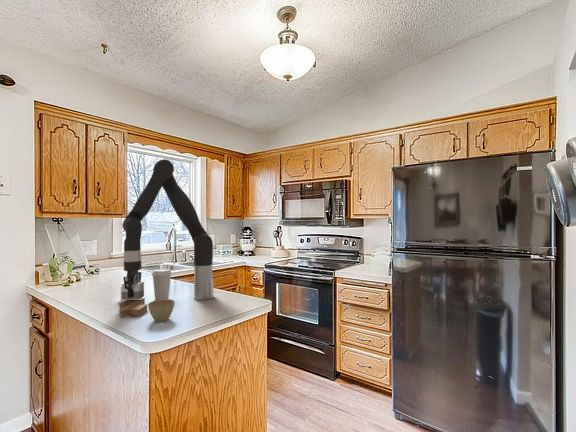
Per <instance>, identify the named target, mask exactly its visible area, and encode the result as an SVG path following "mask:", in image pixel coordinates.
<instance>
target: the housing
mask: <svg viewBox="0 0 576 432" xmlns="http://www.w3.org/2000/svg"><path fill="white" fill-rule="evenodd" d="M131 283H132V282H131ZM144 284H145V282H144V281H141V282H136V281H135V284H133V297H132V298H128V290H127V289H125V287H124V283H122V284H121V287H122V299H140V298H145V285H144Z"/></svg>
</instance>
